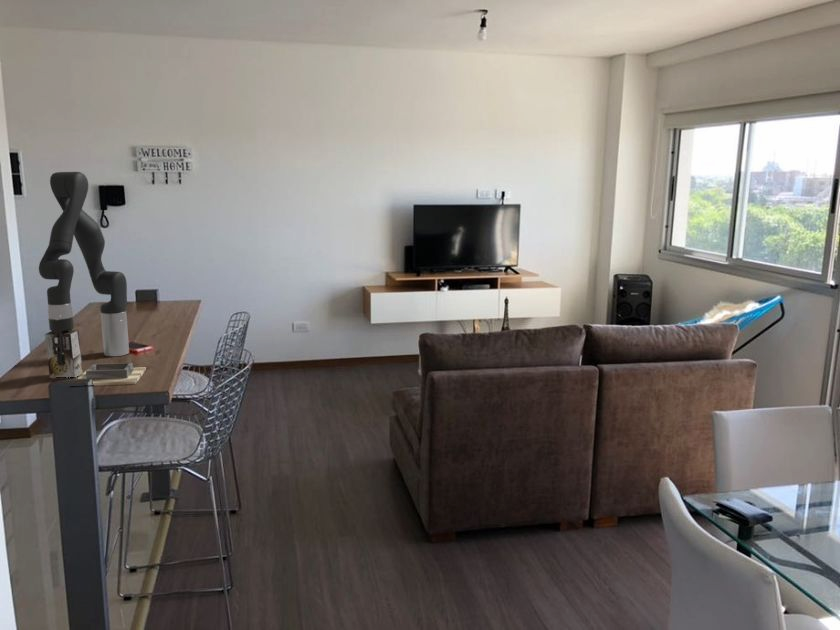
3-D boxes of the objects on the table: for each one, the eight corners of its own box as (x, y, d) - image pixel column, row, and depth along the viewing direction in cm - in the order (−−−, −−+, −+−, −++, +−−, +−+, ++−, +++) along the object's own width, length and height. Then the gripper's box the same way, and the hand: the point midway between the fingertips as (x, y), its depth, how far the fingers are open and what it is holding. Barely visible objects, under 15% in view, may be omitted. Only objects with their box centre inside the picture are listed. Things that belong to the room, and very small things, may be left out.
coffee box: (83, 373, 241) (79, 329, 238) (75, 378, 235) (71, 333, 232) (57, 373, 241) (53, 329, 238) (48, 378, 234) (44, 333, 231)
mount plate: (87, 372, 243) (86, 361, 242) (146, 369, 247) (145, 359, 246) (72, 386, 225) (71, 375, 225) (135, 384, 229) (134, 372, 229)
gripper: (55, 312, 240) (60, 357, 243) (41, 320, 226) (46, 368, 229) (78, 312, 241) (82, 356, 244) (65, 320, 227) (70, 367, 231)
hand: (64, 362), depth 237 cm, fingers closed on coffee box, 7 cm apart
